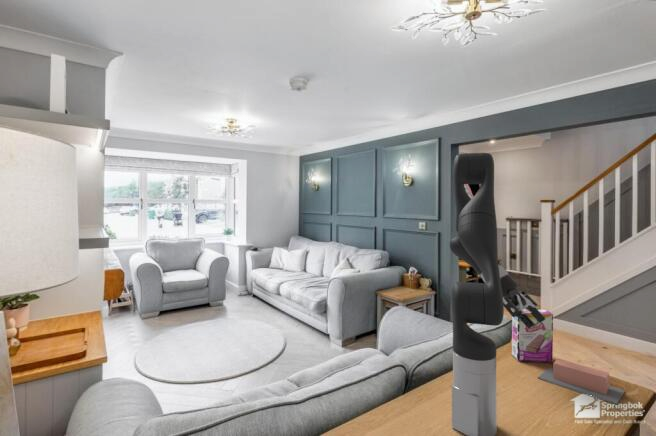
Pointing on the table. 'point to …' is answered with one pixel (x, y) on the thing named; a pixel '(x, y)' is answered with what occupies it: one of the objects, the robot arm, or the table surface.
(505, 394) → the table surface
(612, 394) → the mat
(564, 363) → the block
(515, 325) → the candy bar box
